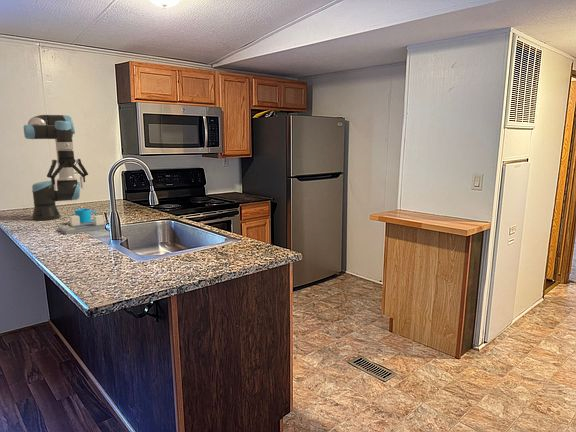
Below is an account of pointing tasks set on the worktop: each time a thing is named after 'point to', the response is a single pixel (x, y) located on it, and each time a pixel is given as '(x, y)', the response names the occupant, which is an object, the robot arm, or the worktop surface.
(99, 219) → the tab
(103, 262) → the worktop surface
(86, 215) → the mug
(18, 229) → the worktop surface
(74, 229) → the switch bank
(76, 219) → the tab
